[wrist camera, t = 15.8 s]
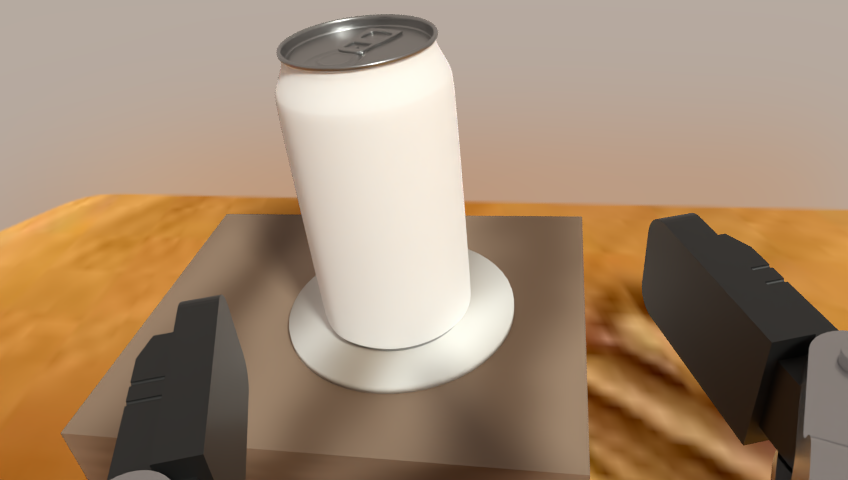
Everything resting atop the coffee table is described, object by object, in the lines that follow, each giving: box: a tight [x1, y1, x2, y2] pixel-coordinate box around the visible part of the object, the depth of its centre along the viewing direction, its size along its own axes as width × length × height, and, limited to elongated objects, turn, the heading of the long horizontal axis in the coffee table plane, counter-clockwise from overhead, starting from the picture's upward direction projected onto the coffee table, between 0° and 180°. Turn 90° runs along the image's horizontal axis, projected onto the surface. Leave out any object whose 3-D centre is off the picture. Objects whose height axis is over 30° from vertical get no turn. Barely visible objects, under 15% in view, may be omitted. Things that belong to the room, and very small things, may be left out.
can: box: [275, 14, 471, 351], centre depth 27 cm, size 6×6×12 cm
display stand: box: [61, 214, 590, 480], centre depth 32 cm, size 20×16×3 cm
